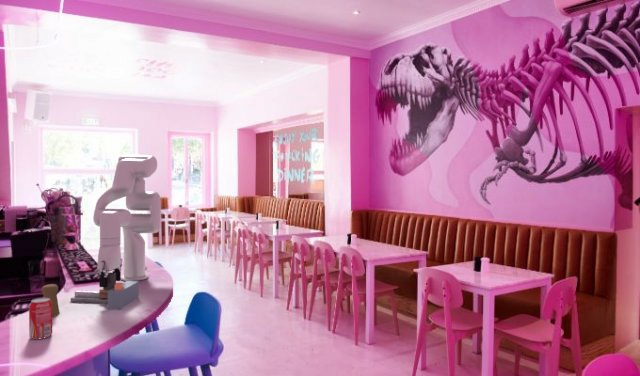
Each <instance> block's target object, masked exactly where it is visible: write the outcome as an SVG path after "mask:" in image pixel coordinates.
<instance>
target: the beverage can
mask: <svg viewBox="0 0 640 376" xmlns="http://www.w3.org/2000/svg"><path fill="white" fill-rule="evenodd" d="M28 320H29V322H28V323H29V325H28V326H29V328H28V331H29V332H28V333H29V334H28V335H29V338H30V339H33V338H34V339H33V340H40V339H39V338H43V339H45V338H44V337H46V338H48V337H50V336H51V335H52V334H53V317H52V302H51V301H50V298H43V297H38V298H37V297H36V298H33V299H32V300H31V301H30V303H29V306H28Z"/></svg>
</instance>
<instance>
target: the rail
mask: <svg viewBox="0 0 640 376" xmlns="http://www.w3.org/2000/svg"><path fill="white" fill-rule="evenodd" d="M70 303H85V304H86V303H91V304H108V298H99V290H98V291H95V290H93V291H91V290H75V291H74V296H72V297H70Z"/></svg>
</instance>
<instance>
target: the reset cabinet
mask: <svg viewBox="0 0 640 376" xmlns="http://www.w3.org/2000/svg"><path fill="white" fill-rule="evenodd" d="M122 283H123V289H122V290H114V288H113V289H111V290H109V291H108V303H107V310H123V309H124V308H125V307H127V306H129V305H130V304H131V303H133V302H134V301H135V302H136V300H138V299H140V285H139V284H140V280H139V281H123V282H122Z"/></svg>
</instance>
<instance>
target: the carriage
mask: <svg viewBox="0 0 640 376" xmlns="http://www.w3.org/2000/svg"><path fill="white" fill-rule="evenodd" d="M107 277H108V287H101V288H100V289H99V290H98V292H99V298H108V291H109V290H111V289H113V288H114V284H115V283H117V281H116V273H113V272H111V271H109V272H108V275H107Z"/></svg>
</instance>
